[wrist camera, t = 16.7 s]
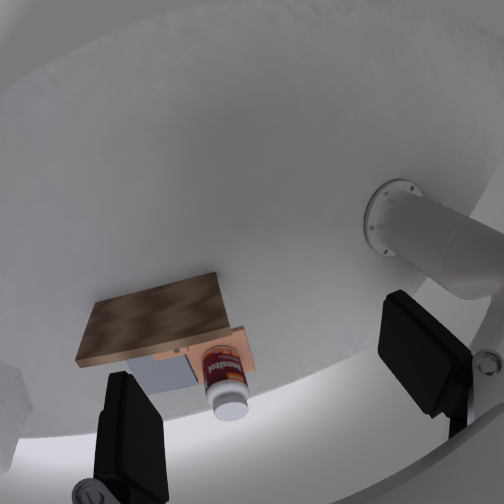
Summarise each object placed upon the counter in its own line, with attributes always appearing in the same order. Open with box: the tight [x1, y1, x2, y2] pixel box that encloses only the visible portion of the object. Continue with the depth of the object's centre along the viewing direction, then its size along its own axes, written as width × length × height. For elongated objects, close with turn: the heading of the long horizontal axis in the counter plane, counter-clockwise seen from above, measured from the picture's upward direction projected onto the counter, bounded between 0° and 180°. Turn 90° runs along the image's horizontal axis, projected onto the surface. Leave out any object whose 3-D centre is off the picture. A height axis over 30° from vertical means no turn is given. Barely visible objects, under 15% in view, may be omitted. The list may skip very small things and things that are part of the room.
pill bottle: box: [202, 346, 249, 421], centre depth 40 cm, size 6×6×11 cm
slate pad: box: [125, 355, 198, 395], centre depth 44 cm, size 10×10×1 cm
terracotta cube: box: [152, 346, 189, 361], centre depth 39 cm, size 5×5×5 cm
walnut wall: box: [75, 272, 232, 368], centre depth 33 cm, size 18×1×12 cm, turn 101°
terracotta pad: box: [187, 326, 254, 384], centre depth 45 cm, size 10×10×1 cm
